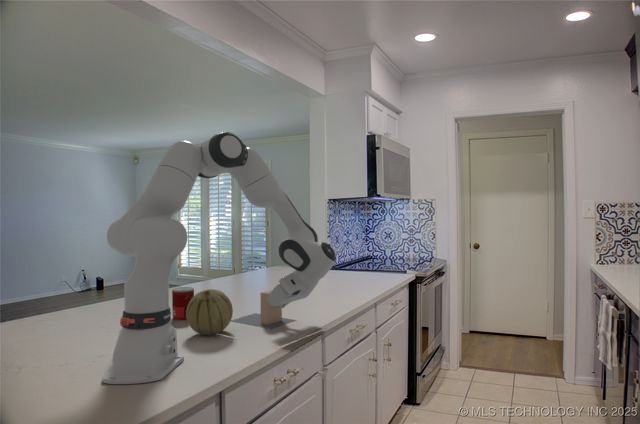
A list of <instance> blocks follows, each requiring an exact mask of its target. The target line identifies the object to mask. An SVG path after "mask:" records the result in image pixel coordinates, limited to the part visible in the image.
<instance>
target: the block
mask: <svg viewBox="0 0 640 424" xmlns="http://www.w3.org/2000/svg"><path fill="white" fill-rule="evenodd" d="M272 290H273V289H269V290H266V291H263V292H262V291H261V292H260V314H261V324H264V325H269V324H272V323H275V322H278V321H281V320H282V318H283V317H282V315H283V308H282V309H277V308H276V306H275V307H271V306H270V304H269V303H268V301H267V297H268V295H269V294H270V293H271V291H272Z"/></svg>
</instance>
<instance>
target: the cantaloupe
mask: <svg viewBox="0 0 640 424" xmlns="http://www.w3.org/2000/svg"><path fill="white" fill-rule="evenodd" d="M233 309H234V308H233V303H232V302H231V300H230V299H229V296H228V295H226V293H225V292H223V291H221V290H218V289H205V290H201V291H200V292H198V293H195V294H194V297H193V298H192V299H191V300H190V302H189V304H188V306H187V309H186V318H187V324H188V326H189V327H190V328H191V329H192V330H193V331H194V332H195V333H196V334H199V335H201V336H213V335H217V334H219V333H221V332H223V331H224V330H225V329H227V327H228V326H229V325H230V324H231V320H233V319H232V318H233V314H234V313H233V312H234V310H233Z"/></svg>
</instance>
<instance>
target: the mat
mask: <svg viewBox="0 0 640 424" xmlns="http://www.w3.org/2000/svg"><path fill="white" fill-rule="evenodd" d="M296 321H297V320H296V319H291V318H287V317H282V320H281V321H278V322H275V323H272V324H269V325H264V324H261V313H257V312H254V313H251V314H247V315H245V316H242V317H238V318H234V319H231V321H230V323H238V324H243V325H246V326H247V325H249V326H253V327H258V328H263V329H270V330H274V329H276V328H279V327H282V326H285V325H287V324H290V323H294V322H296Z"/></svg>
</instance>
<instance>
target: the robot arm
mask: <svg viewBox="0 0 640 424" xmlns="http://www.w3.org/2000/svg"><path fill="white" fill-rule="evenodd" d="M225 173H228V174H230V175H232V177H233V178H234V179H235V181H236V182H237V185H238V186H239V188H240V190H241V192H242V194H243V195H244V197H245V199H247V201H248V202H249V203H250V204H251V205H252V206H254V207H258V208H266V209H267V208H268V209H271V210H273V211H274V212H275V214H276V215H277V216H278V217H279V219H280V220H281V222H282V223H283V225H284V226H285V227H286V229H287V233H288V235H287V236H286V237H285V238H284V239H283V240H282V241H281V243H280V244H279V246H278V256H279V258H280V260H281V261H282V262H283V263H284V264H285V265H288V267H290V268H291V269H293V271H291V272H290V273H289V274H286V275H283V276H282V277H281V278H280V279H279V280H278V284H276V285H275V286H274V288H272V289H271V290H272V291H271V293H270V294H269V295H268V297H267V301H268V303H269V304H270V306H271V307H275V306H276V308H277V309H282V310H283V309H284V308H285V307H287V305H289V304H290V303H293V302H295V301H299V300H302V299H303V300H304V299H305V298H307V297H309V296H310V294H311V293H312V292H313V291H314V289H315V288H316V287H317V285H318V284H319V281H320V280H321V279H323V278H324V277H325V276H326V275H327V274H328V272H330V271H331V269H332V267H333V266H334V265H335V263H336V260H337V259H336V256H337V255H336V252H335V251H334V249H333V247H332V246H331V245H330V244H328V243H327V242H324V241H322V242H320V241H319V237H318V234H317V232H316V230H314V228H313V227H312V226H311V225H310V224H308V223H307V222H306V221H305V220H304V219H303V218H302V216H301V214H300V213H299V211H298V210H297V208H296V207H295V205H294V204H293V202H292V201H291V200H290V198H289V197H288V195H287V194H286V193H285V192H284V190H283V189H282V188H281V187H280V185H279V183H278V182H277V180H276V178H275V176H273V174H272V172H271V169H270V168H269V167H268V165H267V163H266V162H265V161H264V159H263V158H262V157H261V155H260V154H259V153H258V152H257V151H256V150H255V149H254V148H252V147H247V145H245V144H244V142H243V141H242V140H241V138H240V137H239V136H238V135H236V134H234V133H233V132H229V131H223V132H222V131H221V132H219V133H216V134H214V135H213V136H212V137H209V138H208V139H205V141H203V142H202V143H201V144H199V145H196V144H194V143H193V142H191V141H187V140H178V141H176V142H174V143H172V145H171V146H170V147H169V149H168V150H167V151H166V152H165V154H164V155H163V157H162V158H161V160H160V161H159V163H158V165H157V167H156V169H155V171H154V173H153V175H152V177H151V179H150V180H149V182H148V184H147V186H146V188H145V189H144V191H143V192H142V194H141V195H140V196H139V197H138V198H137V200H136V201H135V202H134V203H133V204H132V205H131V207H129V209H128V210H126V212H125V213H124V214H123V215H122V216H121V217H119V218H118V219H116V220H115V221H114V222H112V223H111V224H110V225H109V226H108V229H107V233H106V239H107V243H108V246H109V247H110V249H112V250H113V251H115V252H117V253H119V254H121V255H123V256H127V257H135V262H134V266H133V269H132V271H131V273H130V275H128V276H127V278H126V279H125V281H124V284H123V285H124V288H123V289H124V290H123V292H124V294H123V295H124V304H123V305H124V309H123V310H122V315H121V318H120V320H119V323H120V326H121V327H122V328H121V329H120V330H119V332H118V336H117V340H116V342H115V347H114V350H113V354H112V358H111V359H110V360H109V363H108V364H107V367H106V370H105V372H104V373H103V375H102V378H101V382H102V383H103V384H111V385H135V384H143V383H152V382H157V381H161V380H162V379H164V378H165V377H166V376H167V375H168V374H169V373H171V372H172V371H173V370H174V369H176V367H178V366H179V365H180V364H181V363H182V362H184V360H185V357H184V355H182V354H179V352H178V335H177V328H175V327H174V326H173V325H172V324H171V316H172V312H171V307H170V306H169V303H170V301H169V296H170V295H169V294H170V290H169V289H170V278H171V272H172V270H173V266H174V264H175V261H176V259H177V258H178V256H179V255H180V254H181V253H182V252H184V250H185V248H186V247H187V243H188V232H187V229H186V227H185V225H184V224H183V223H182V222H180V221H178V220H177V219H173V218H172V217H173V216H174V215H176V214H178V212H180V211H181V210H182V209H183V208H184V207H185V205H186V203H187V201H188V199H189V197H190V195H191V192H192V189H193V188H194V185H195V182H196V181H197V179H198V177H199V178H203V179H213V178H215V177H216V178H217V177H218V176H220V175H222V174H225Z"/></svg>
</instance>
